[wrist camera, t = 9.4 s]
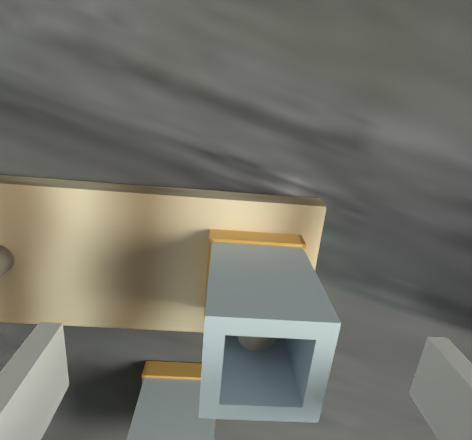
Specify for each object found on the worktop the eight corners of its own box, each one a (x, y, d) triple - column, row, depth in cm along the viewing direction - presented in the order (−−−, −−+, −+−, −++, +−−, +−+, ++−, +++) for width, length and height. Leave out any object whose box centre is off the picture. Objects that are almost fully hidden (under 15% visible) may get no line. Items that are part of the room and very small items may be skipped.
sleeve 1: (146, 414, 24) (116, 538, 17) (146, 360, 22) (112, 474, 15) (214, 417, 24) (210, 539, 17) (218, 364, 22) (215, 477, 16)
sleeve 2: (205, 307, 19) (194, 420, 12) (209, 228, 17) (200, 311, 11) (288, 311, 19) (321, 425, 13) (301, 235, 18) (346, 319, 11)
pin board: (-37, 303, 20) (-152, 395, 14) (-68, 170, 17) (-226, 211, 11) (297, 320, 21) (326, 413, 15) (318, 198, 18) (364, 249, 12)
